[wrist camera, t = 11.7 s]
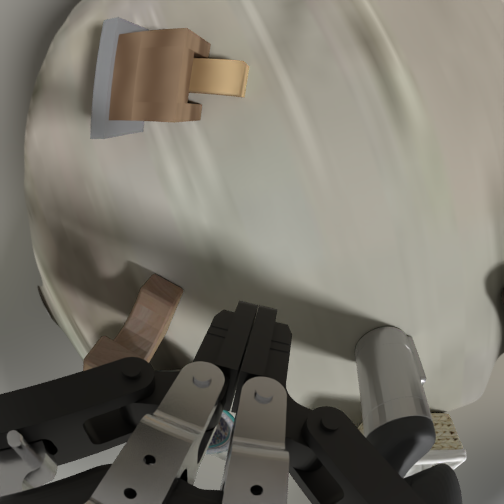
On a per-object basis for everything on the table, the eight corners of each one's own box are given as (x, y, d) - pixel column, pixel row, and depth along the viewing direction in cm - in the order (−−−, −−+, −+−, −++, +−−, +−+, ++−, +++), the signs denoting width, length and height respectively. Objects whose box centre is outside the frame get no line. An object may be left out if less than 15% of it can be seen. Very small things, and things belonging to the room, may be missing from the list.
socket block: (210, 44, 30) (187, 28, 22) (200, 120, 34) (174, 122, 27) (152, 45, 30) (119, 34, 23) (143, 117, 35) (108, 120, 28)
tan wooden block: (249, 66, 31) (243, 60, 27) (244, 97, 33) (237, 95, 29) (172, 62, 32) (158, 58, 28) (168, 91, 33) (154, 90, 30)
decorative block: (154, 271, 45) (82, 359, 27) (186, 289, 45) (126, 386, 28) (138, 317, 50) (80, 400, 32) (166, 333, 50) (116, 422, 32)
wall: (155, 32, 30) (118, 17, 22) (143, 131, 36) (104, 138, 28) (142, 34, 30) (104, 20, 22) (130, 131, 36) (90, 138, 28)
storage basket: (339, 439, 58) (338, 493, 45) (370, 402, 51) (377, 465, 38) (419, 443, 57) (426, 489, 44) (456, 407, 50) (470, 458, 37)
